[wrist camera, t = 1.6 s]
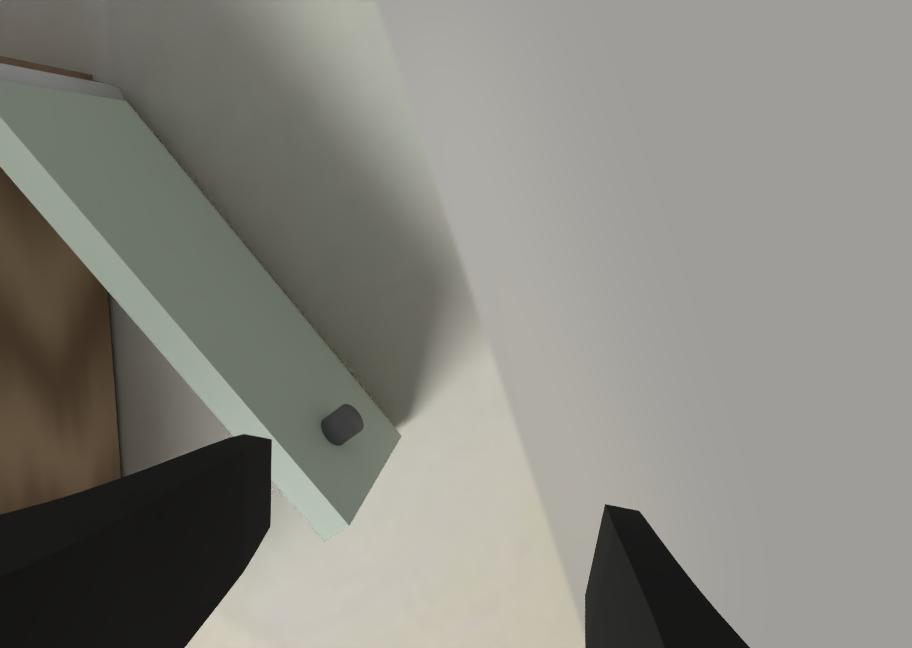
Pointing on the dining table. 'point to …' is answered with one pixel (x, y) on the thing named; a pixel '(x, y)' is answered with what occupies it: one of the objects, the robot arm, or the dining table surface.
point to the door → (193, 288)
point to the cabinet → (51, 358)
